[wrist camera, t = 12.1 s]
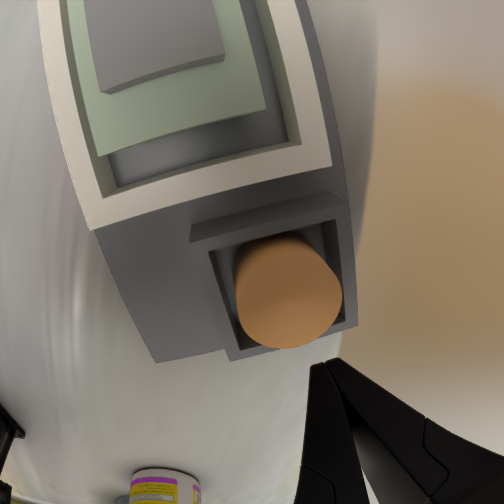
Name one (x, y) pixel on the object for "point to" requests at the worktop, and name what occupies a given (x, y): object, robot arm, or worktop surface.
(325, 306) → the click button
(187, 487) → the supplement bottle
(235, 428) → the worktop surface
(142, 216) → the chassis
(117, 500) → the drinking glass
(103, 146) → the pale green block
